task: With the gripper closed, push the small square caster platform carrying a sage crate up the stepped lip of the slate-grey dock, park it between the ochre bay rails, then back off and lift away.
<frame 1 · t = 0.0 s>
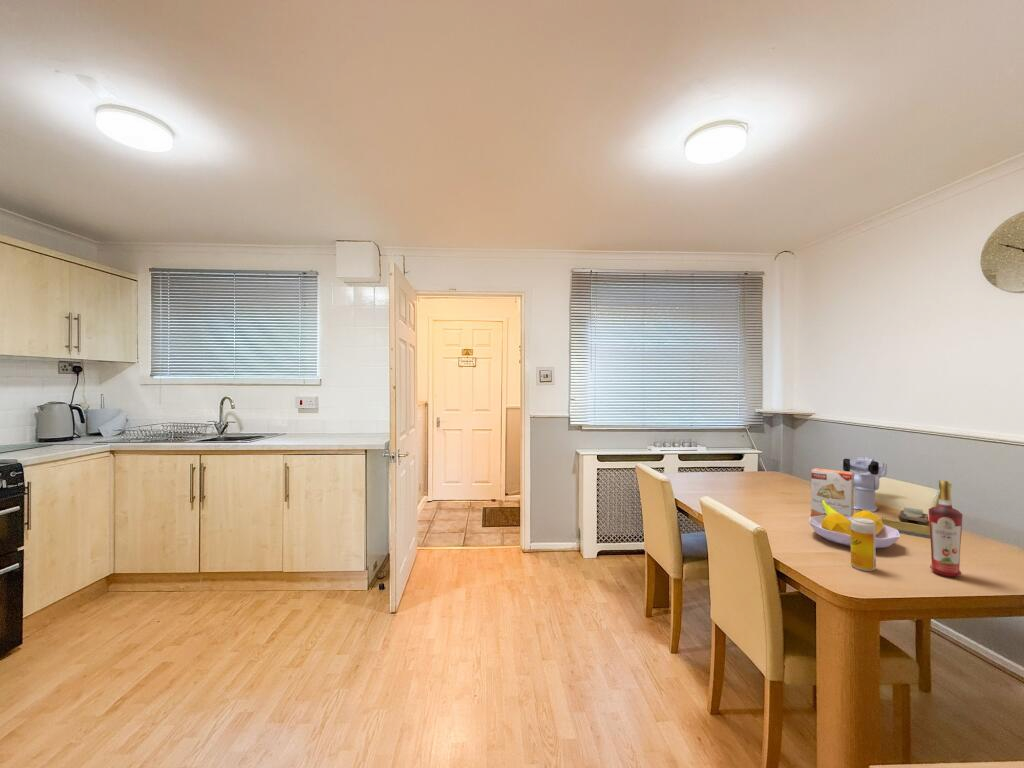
hand: (857, 467, 189), 22 cm above the table, tool horizontal, fingers open, 7 cm apart
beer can: (863, 568, 137), on the table
cracker box: (832, 520, 185), on the table
fruit bowl: (850, 541, 161), on the table
square caster platform: (913, 521, 183), on the table
dock: (910, 529, 173), on the table
liquor: (945, 575, 132), on the table
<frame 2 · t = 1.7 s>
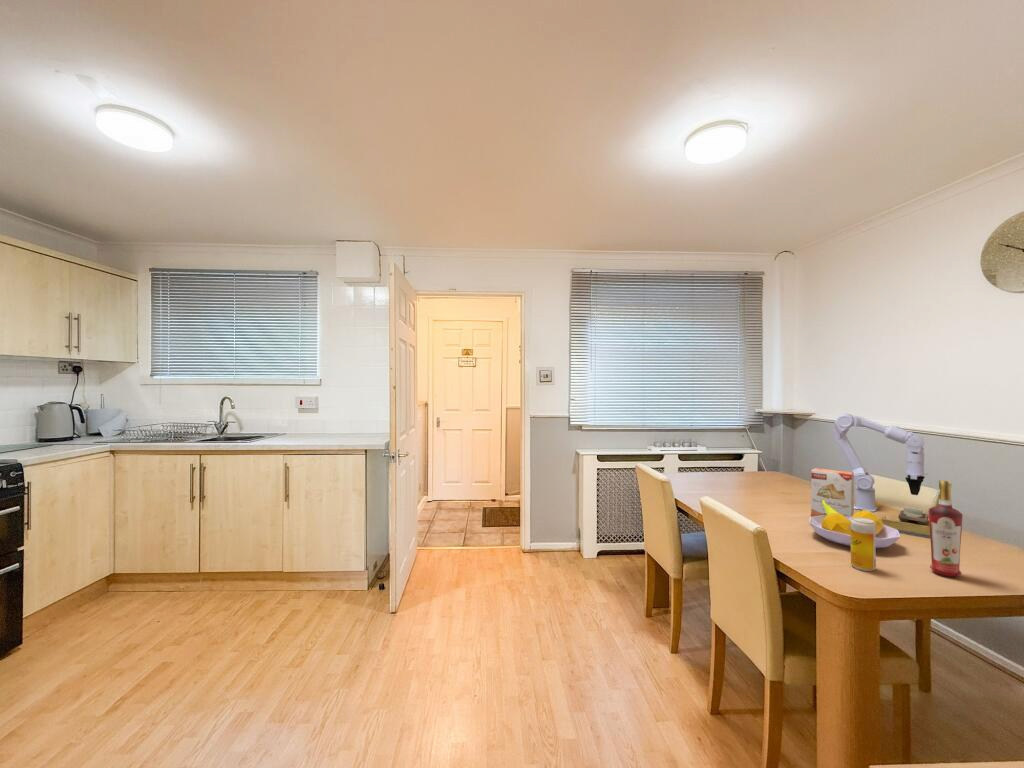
hand: (915, 493, 190), 10 cm above the table, tool pointing down, fingers open, 6 cm apart
nothing on the table moved.
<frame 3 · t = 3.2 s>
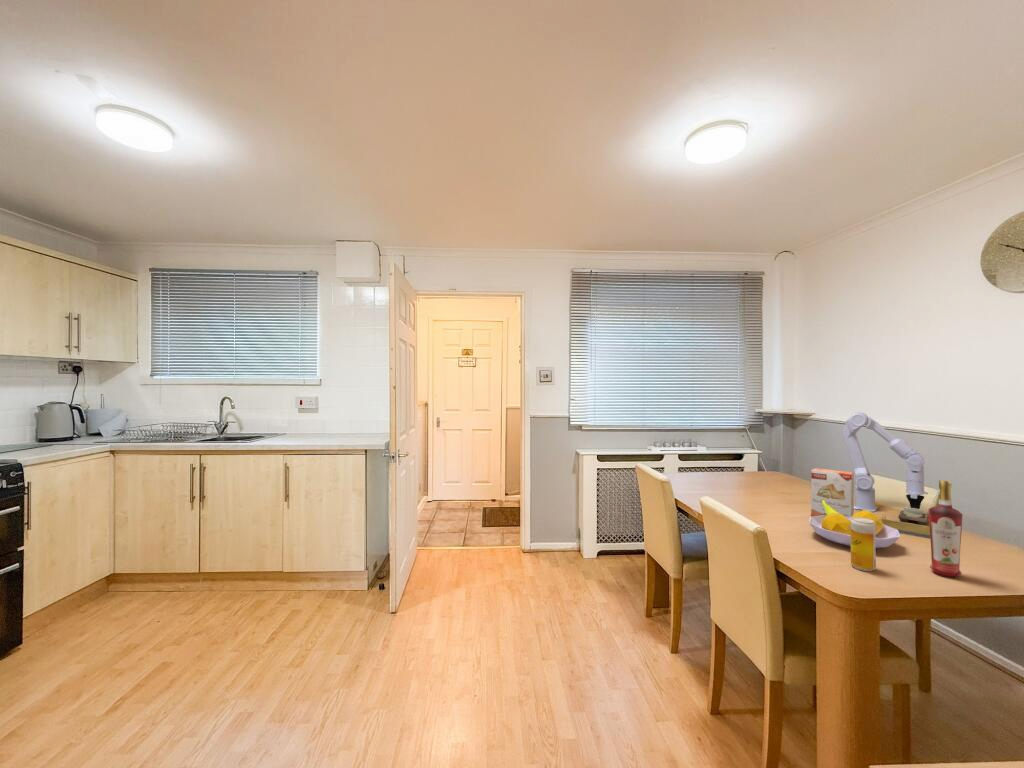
hand: (915, 512, 190), 2 cm above the table, tool pointing down, fingers closed
nothing on the table moved.
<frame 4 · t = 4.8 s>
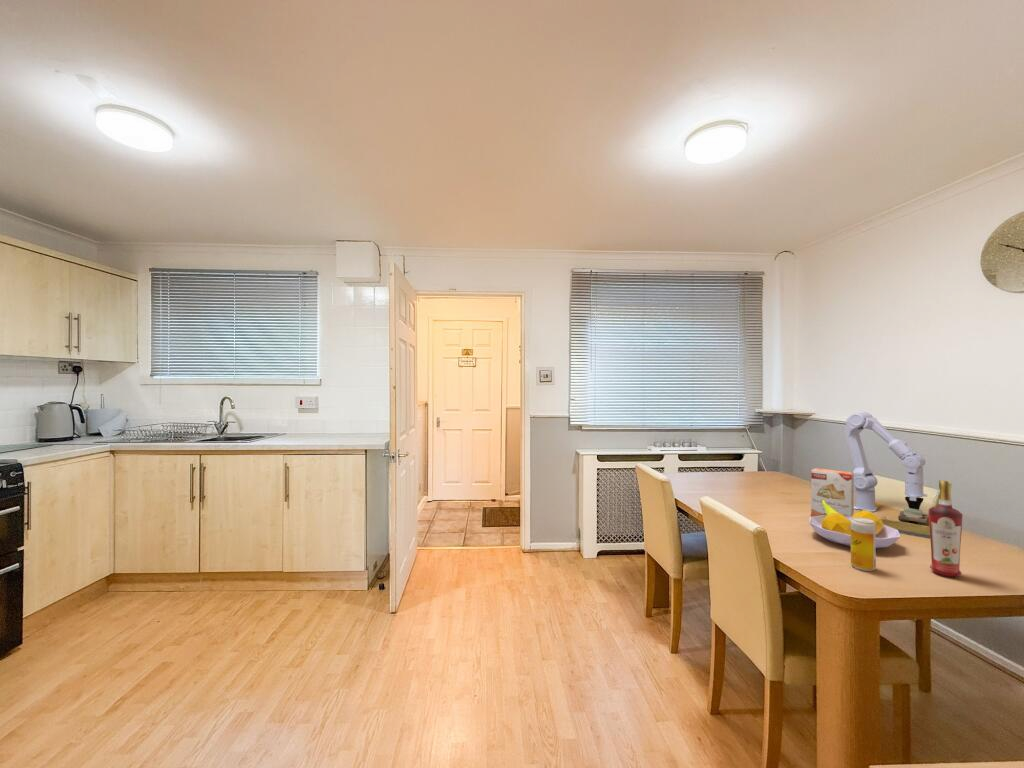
hand: (914, 514, 187), 2 cm above the table, tool pointing down, fingers closed
square caster platform: (913, 522, 183), on the table, touching gripper
everything else where it was.
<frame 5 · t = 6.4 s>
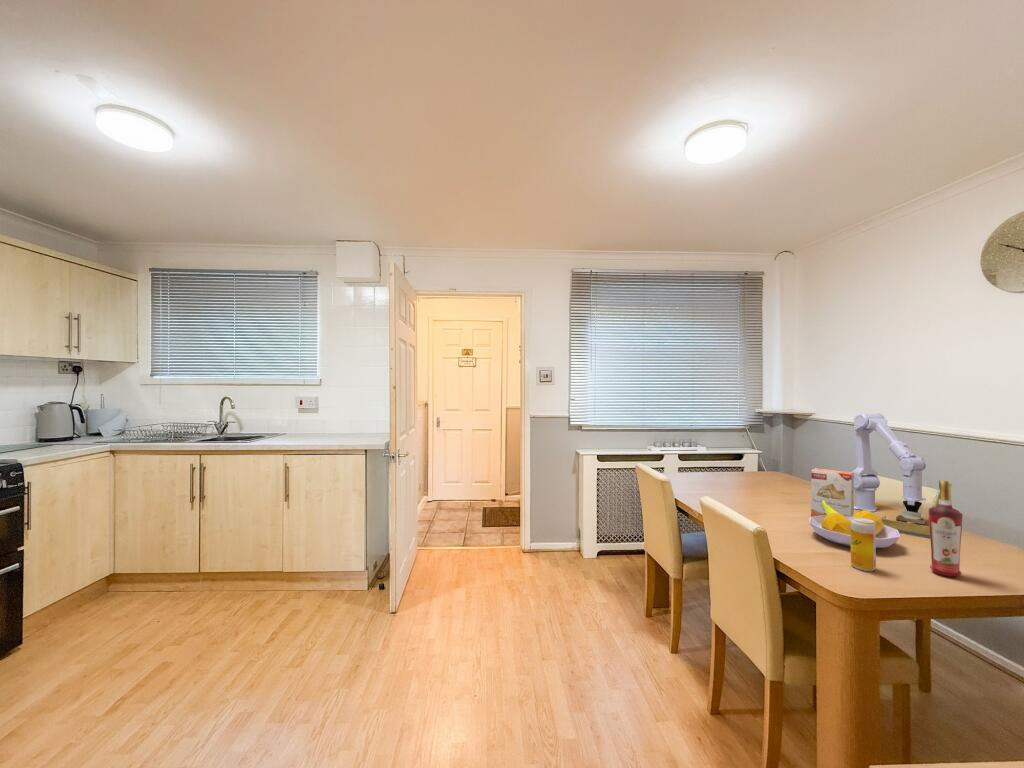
hand: (912, 519, 180), 2 cm above the table, tool pointing down, fingers closed
square caster platform: (911, 525, 176), point 1 cm above the table, tilted 8°, touching dock, gripper
everything else where it was.
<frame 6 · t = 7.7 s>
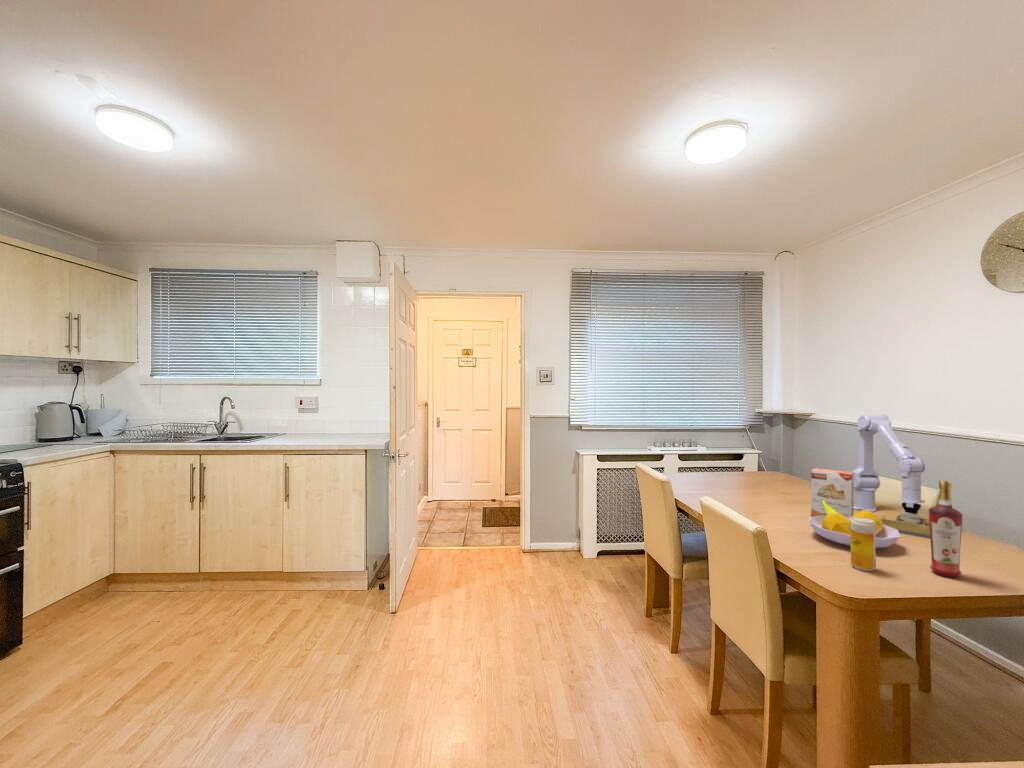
hand: (911, 521, 177), 2 cm above the table, tool pointing down, fingers closed
square caster platform: (910, 527, 172), point 1 cm above the table, touching dock, gripper
everything else where it was.
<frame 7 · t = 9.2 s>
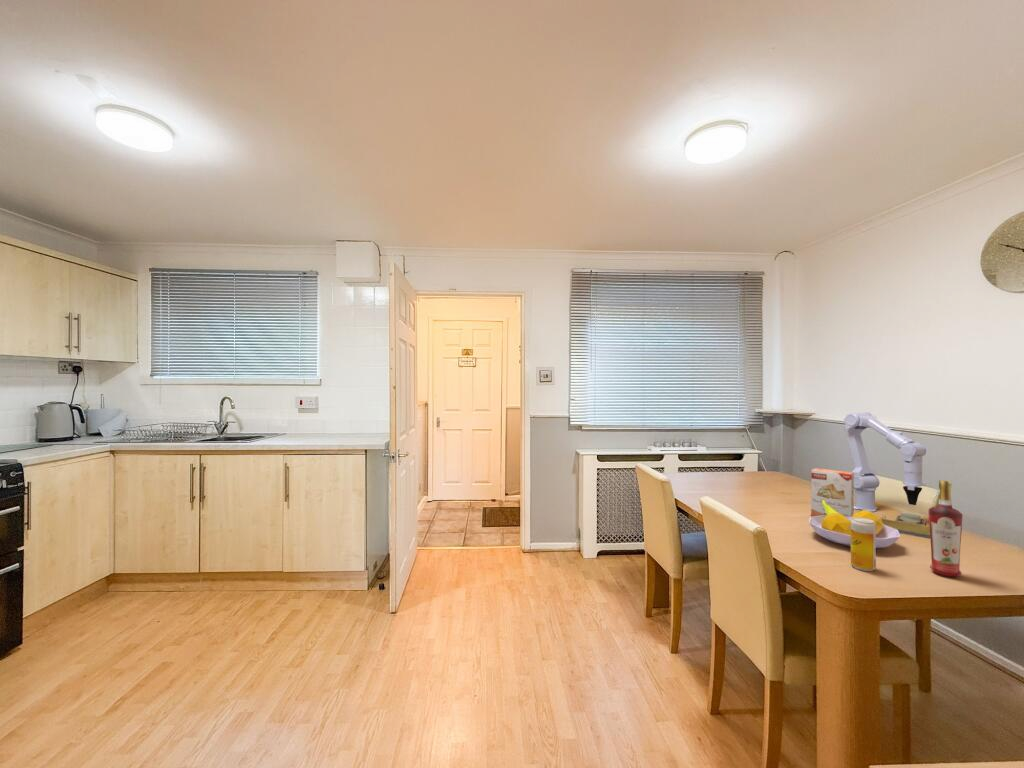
hand: (912, 504, 182), 7 cm above the table, tool pointing down, fingers closed
square caster platform: (910, 527, 172), point 1 cm above the table, touching dock
everything else where it was.
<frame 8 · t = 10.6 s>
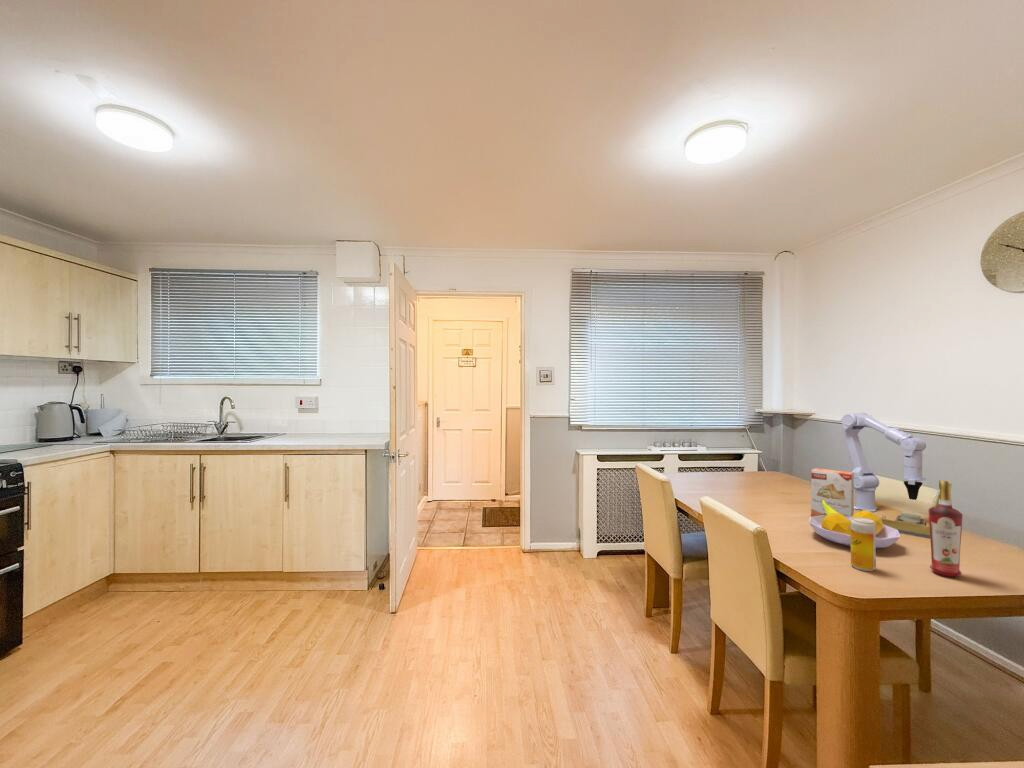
hand: (913, 499, 183), 9 cm above the table, tool pointing down, fingers closed
nothing on the table moved.
at the end: square caster platform inside the target area (1.5 cm from its centre), point 1.2 cm above the table; square caster platform touching dock; square caster platform tilted 0° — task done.
